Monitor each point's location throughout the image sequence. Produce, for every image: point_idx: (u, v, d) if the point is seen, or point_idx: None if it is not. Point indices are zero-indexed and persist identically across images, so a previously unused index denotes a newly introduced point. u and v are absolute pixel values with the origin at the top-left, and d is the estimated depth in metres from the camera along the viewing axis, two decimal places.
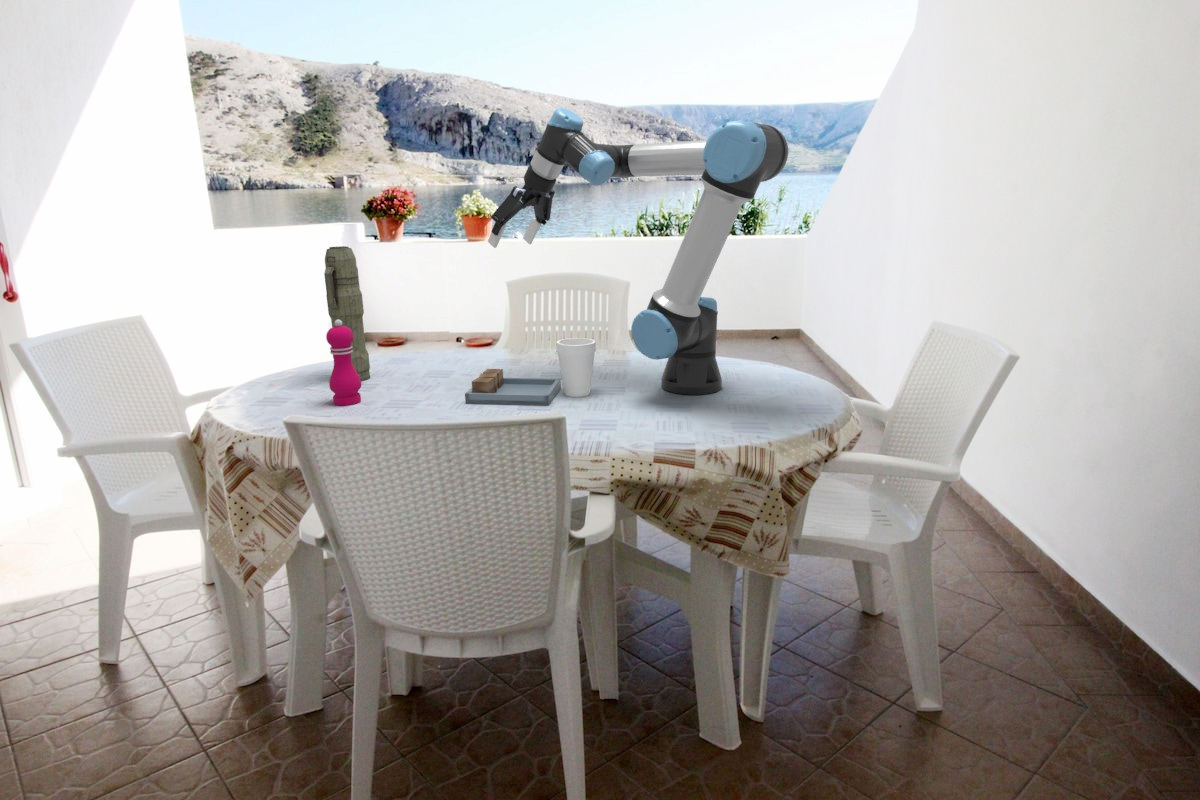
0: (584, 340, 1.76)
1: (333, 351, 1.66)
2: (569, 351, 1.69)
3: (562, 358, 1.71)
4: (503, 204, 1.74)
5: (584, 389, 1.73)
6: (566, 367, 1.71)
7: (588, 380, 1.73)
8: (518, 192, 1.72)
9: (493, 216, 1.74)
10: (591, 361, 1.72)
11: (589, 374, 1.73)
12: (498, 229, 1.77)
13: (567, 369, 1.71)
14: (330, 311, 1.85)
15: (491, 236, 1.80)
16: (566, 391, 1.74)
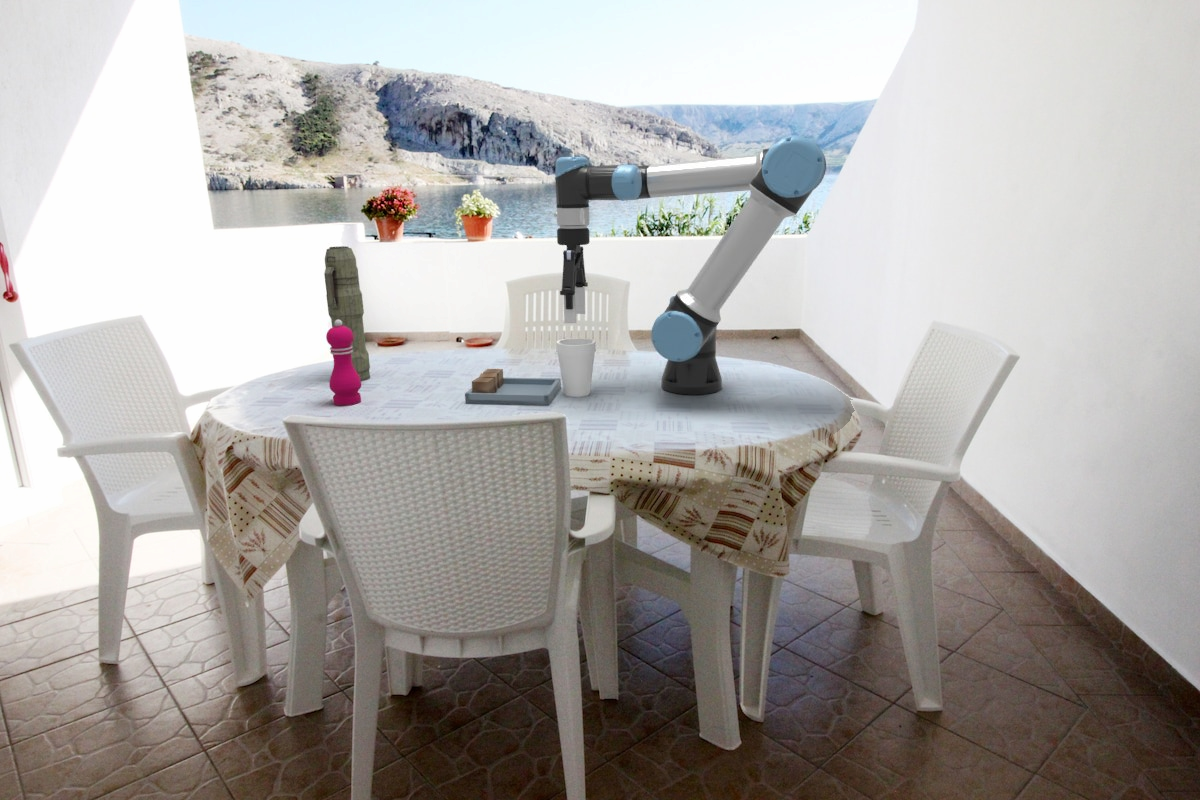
0: (584, 340, 1.76)
1: (333, 351, 1.66)
2: (569, 351, 1.69)
3: (562, 358, 1.71)
4: (565, 273, 1.60)
5: (584, 389, 1.73)
6: (566, 367, 1.71)
7: (588, 380, 1.73)
8: (572, 252, 1.60)
9: (564, 289, 1.59)
10: (591, 361, 1.72)
11: (589, 374, 1.73)
12: (572, 301, 1.62)
13: (567, 369, 1.71)
14: (330, 311, 1.85)
15: (566, 315, 1.64)
16: (566, 391, 1.74)
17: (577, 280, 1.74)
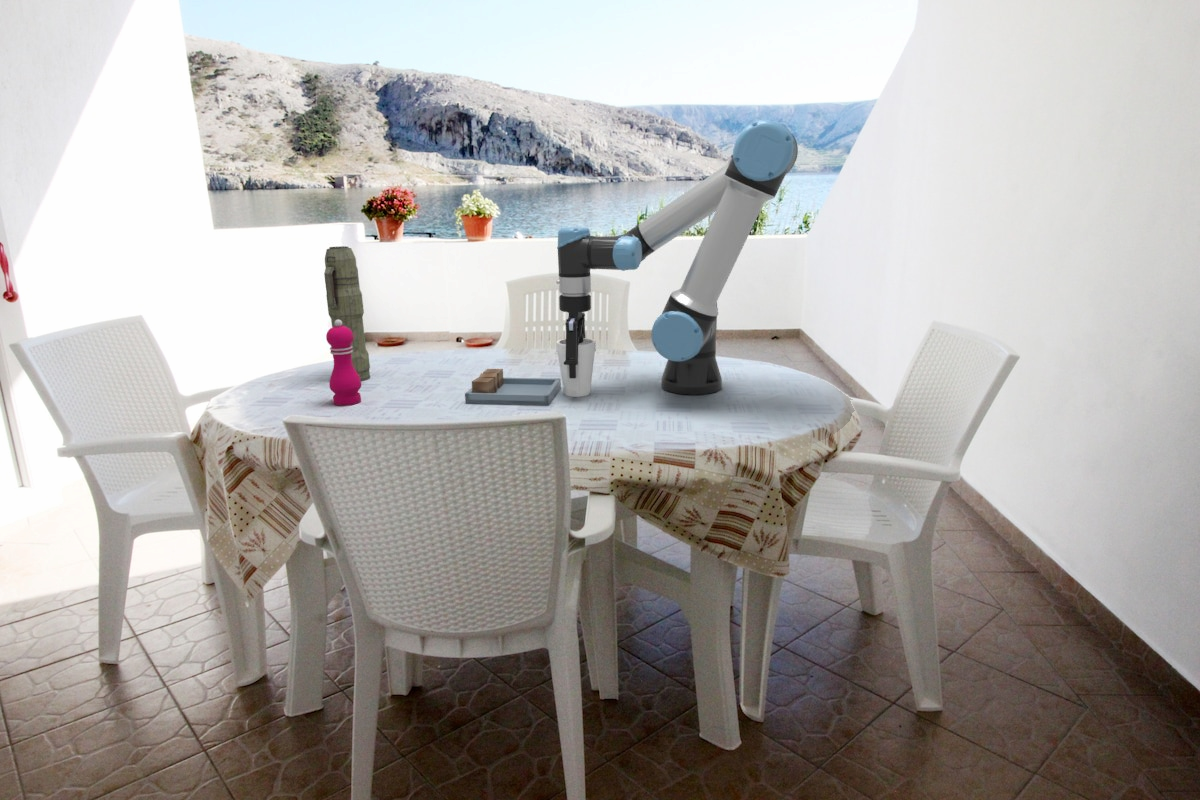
0: (584, 340, 1.76)
1: (333, 351, 1.66)
2: None
3: (562, 358, 1.71)
4: (568, 344, 1.65)
5: (584, 389, 1.73)
6: (566, 367, 1.71)
7: (588, 380, 1.73)
8: (574, 324, 1.64)
9: (567, 360, 1.65)
10: (591, 361, 1.72)
11: (589, 374, 1.73)
12: (575, 370, 1.68)
13: None
14: (330, 311, 1.85)
15: (569, 383, 1.70)
16: (566, 391, 1.74)
17: None
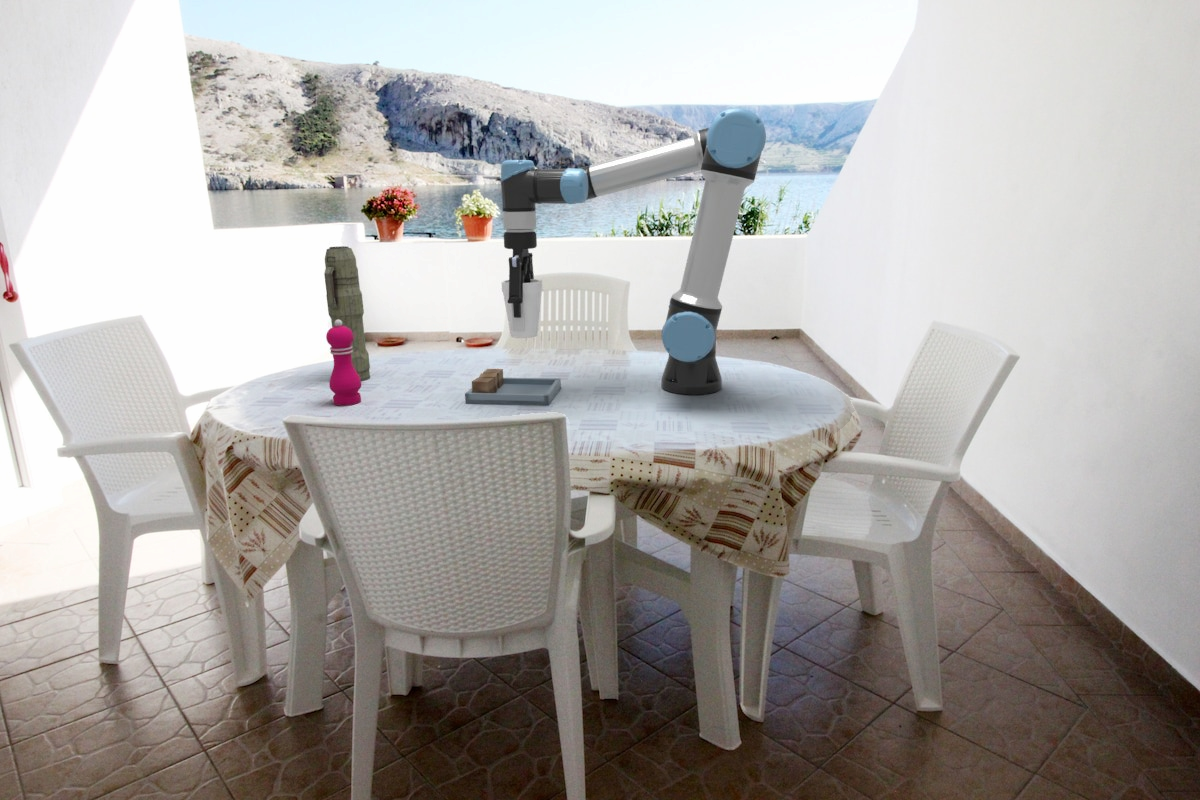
0: (531, 281, 1.70)
1: (333, 351, 1.66)
2: None
3: (507, 298, 1.65)
4: (511, 281, 1.60)
5: (530, 330, 1.67)
6: (511, 307, 1.65)
7: (534, 321, 1.67)
8: (517, 260, 1.59)
9: (511, 298, 1.60)
10: (537, 301, 1.66)
11: (535, 314, 1.67)
12: (519, 309, 1.63)
13: None
14: (330, 311, 1.85)
15: (514, 323, 1.64)
16: (512, 332, 1.68)
17: None
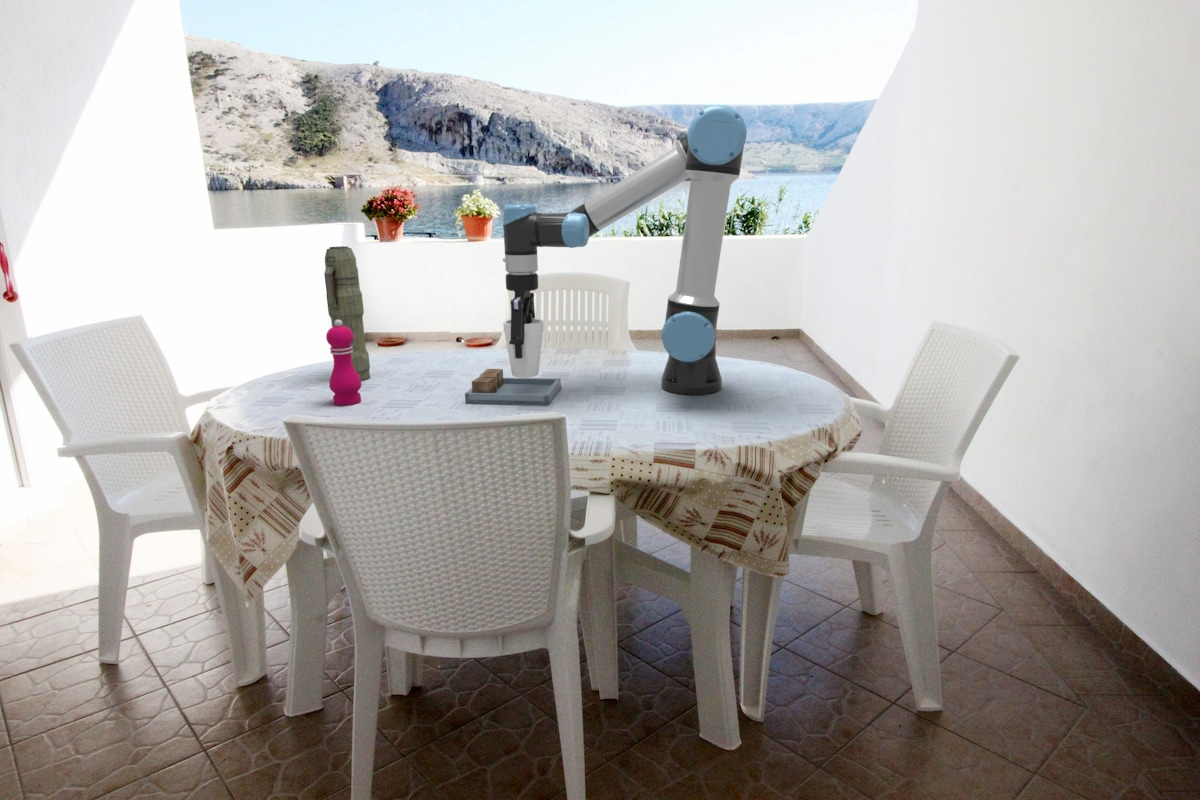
0: (532, 320, 1.73)
1: (333, 351, 1.66)
2: None
3: (508, 338, 1.68)
4: (513, 323, 1.62)
5: (531, 370, 1.70)
6: (512, 347, 1.68)
7: (536, 360, 1.70)
8: (519, 303, 1.62)
9: (512, 340, 1.63)
10: (538, 341, 1.69)
11: (536, 354, 1.70)
12: (521, 350, 1.65)
13: None
14: (330, 311, 1.85)
15: (516, 363, 1.67)
16: (513, 372, 1.71)
17: None
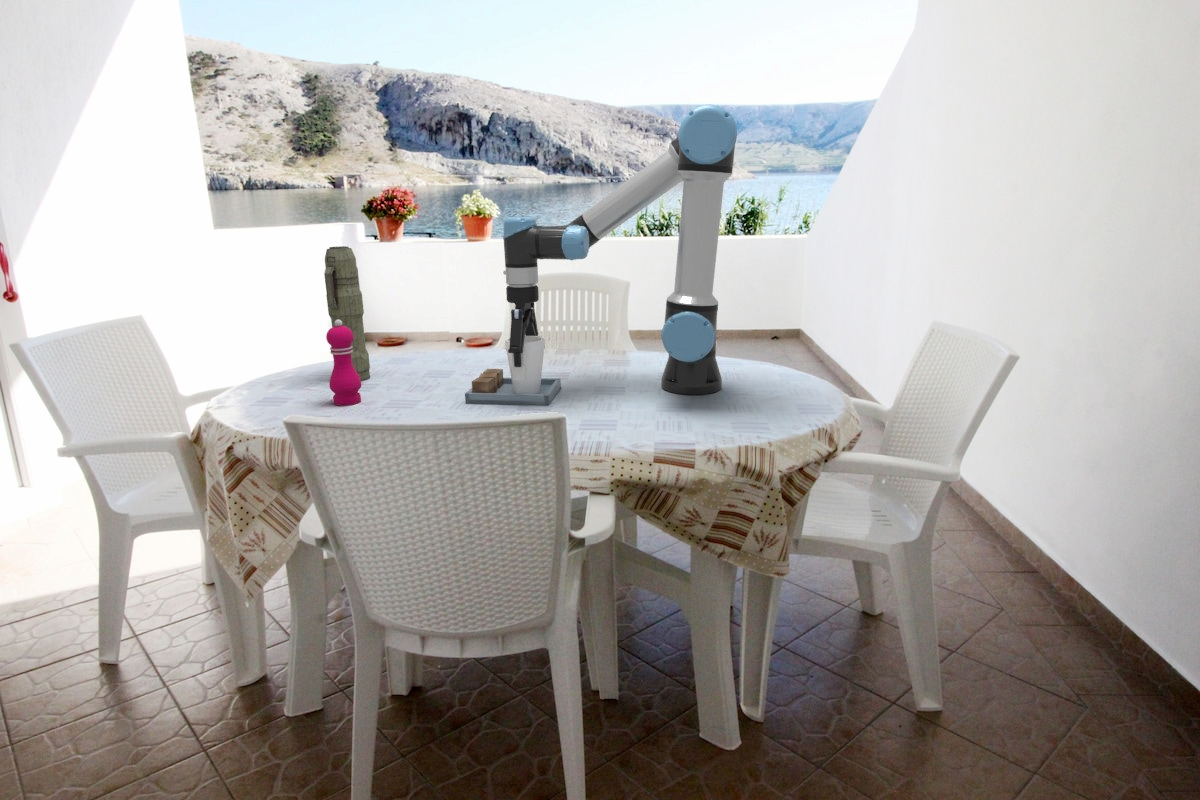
0: (534, 338, 1.74)
1: (333, 351, 1.66)
2: None
3: (510, 356, 1.69)
4: (512, 332, 1.62)
5: (533, 387, 1.71)
6: None
7: (537, 378, 1.71)
8: (519, 312, 1.62)
9: (511, 348, 1.61)
10: (540, 359, 1.70)
11: (538, 372, 1.71)
12: (520, 359, 1.64)
13: None
14: (330, 311, 1.85)
15: (515, 372, 1.66)
16: (515, 389, 1.72)
17: (529, 334, 1.77)
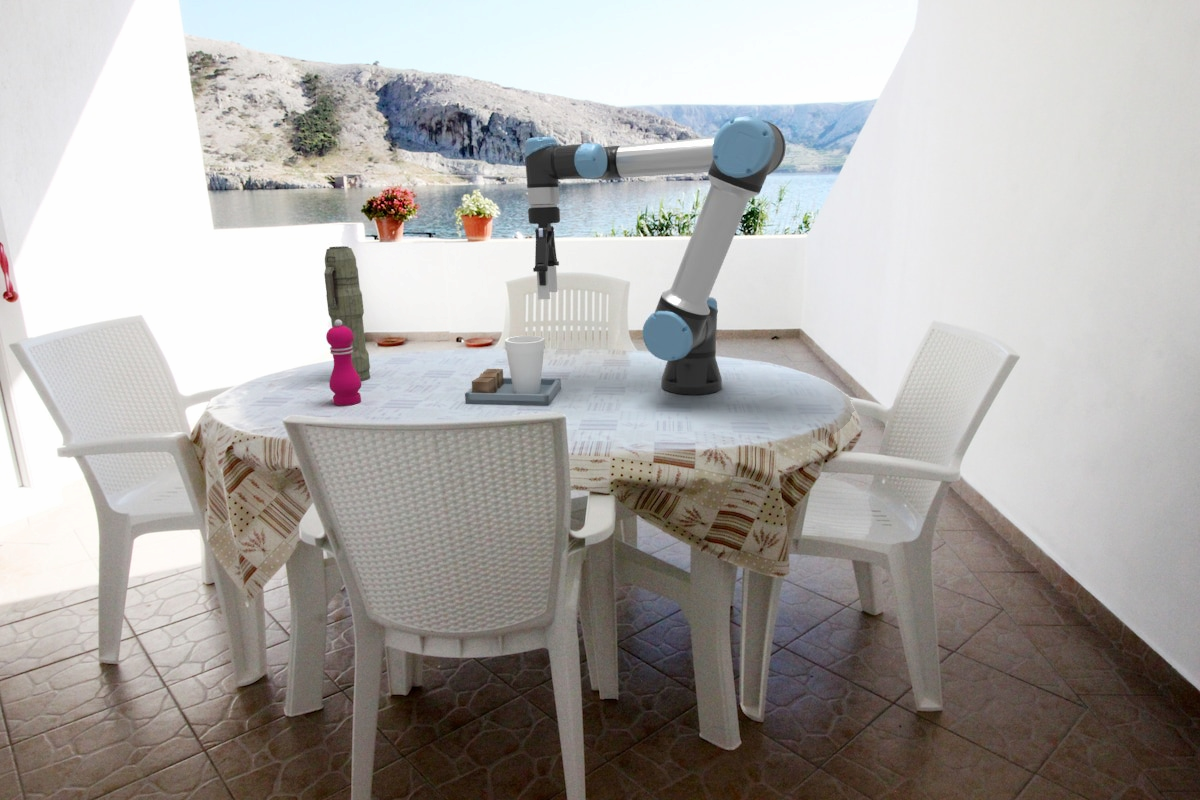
0: (534, 338, 1.74)
1: (333, 351, 1.66)
2: (516, 349, 1.67)
3: (510, 356, 1.69)
4: (537, 250, 1.65)
5: (533, 387, 1.71)
6: (514, 365, 1.69)
7: (537, 378, 1.71)
8: (543, 230, 1.65)
9: (537, 265, 1.64)
10: (540, 359, 1.70)
11: (538, 372, 1.71)
12: (545, 277, 1.67)
13: (515, 367, 1.69)
14: (330, 311, 1.85)
15: (539, 291, 1.69)
16: (515, 389, 1.72)
17: (548, 259, 1.80)
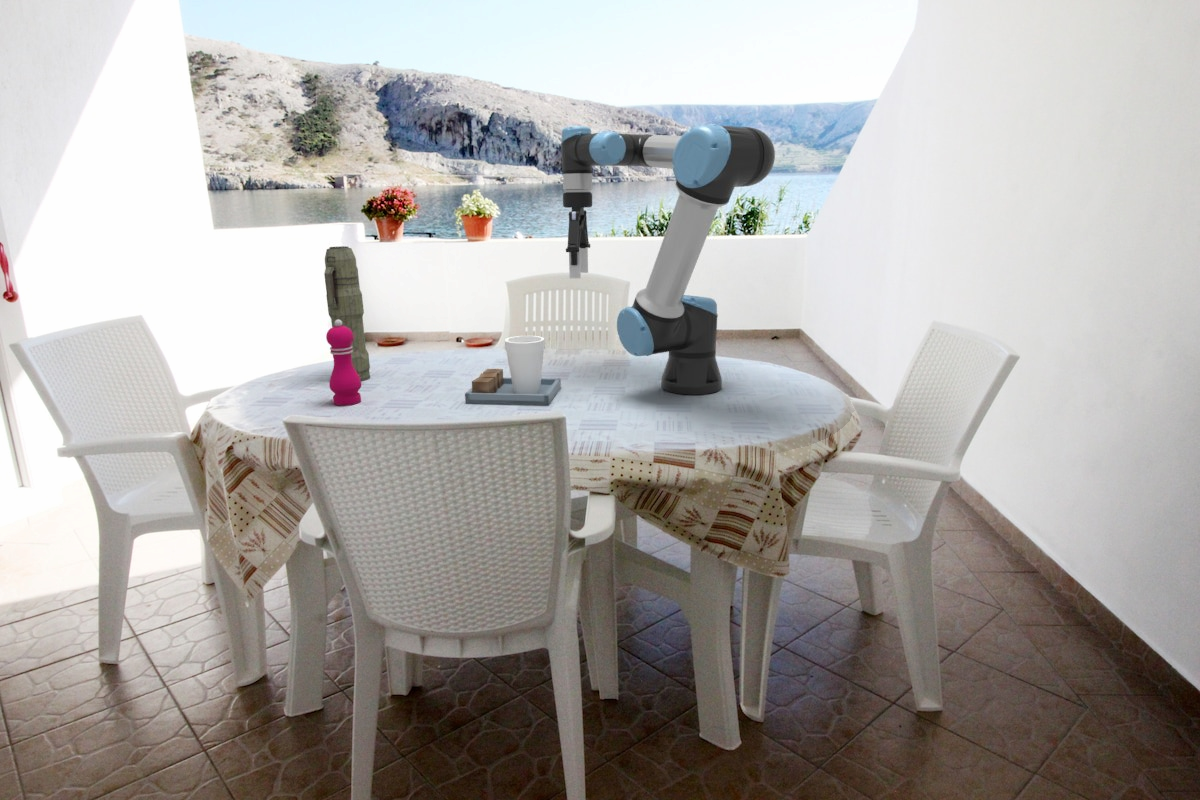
0: (534, 338, 1.74)
1: (333, 351, 1.66)
2: (516, 349, 1.67)
3: (510, 356, 1.69)
4: (570, 232, 1.77)
5: (533, 387, 1.71)
6: (514, 365, 1.69)
7: (537, 378, 1.71)
8: (576, 213, 1.77)
9: (569, 246, 1.76)
10: (540, 359, 1.70)
11: (538, 372, 1.71)
12: (576, 257, 1.79)
13: (515, 367, 1.69)
14: (330, 311, 1.85)
15: (571, 270, 1.81)
16: (515, 389, 1.72)
17: (581, 241, 1.91)
